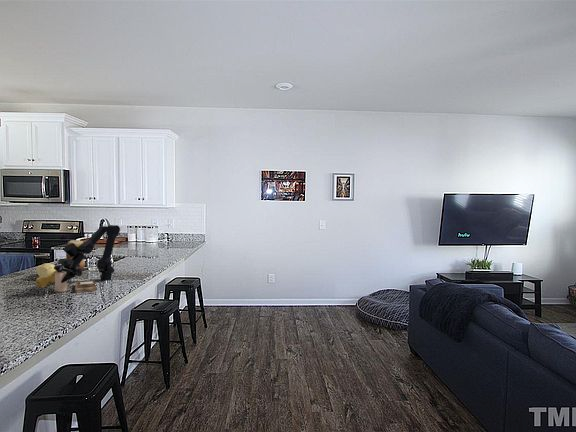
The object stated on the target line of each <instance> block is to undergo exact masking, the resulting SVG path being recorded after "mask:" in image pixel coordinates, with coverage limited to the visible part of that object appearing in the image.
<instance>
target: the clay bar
mask: <svg viewBox="0 0 576 432" xmlns="http://www.w3.org/2000/svg"><path fill="white" fill-rule="evenodd" d="M65 275H66V272H59V273H55V283H54V292H60V293H62V292H66V291H68V280H67V281H65V282H64V283H61V281H62V279H63V278H64V276H65Z"/></svg>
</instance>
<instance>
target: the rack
mask: <svg viewBox="0 0 576 432" xmlns="http://www.w3.org/2000/svg"><path fill="white" fill-rule="evenodd" d="M80 282H81V281H76V282H75V287H74V293H75V294H74V295H75V296H82V295H83V294H84V293H85V295H91V294H94V293H95V292H96V291H97V287H96V280H90V281H89V280H88V281H87V280H86V281H84V282H93V283H92V284H80Z"/></svg>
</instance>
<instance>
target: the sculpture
mask: <svg viewBox="0 0 576 432" xmlns="http://www.w3.org/2000/svg"><path fill="white" fill-rule="evenodd" d="M54 267H55V264H54V263H48V262H47V263H46V262H45V263H43V264H41V265H38V266H36V274H37V275H38V278H39V277H48V276H50V275H51V274H52V273H53V272H54V271H56V270H55V269H54Z"/></svg>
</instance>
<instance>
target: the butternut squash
mask: <svg viewBox="0 0 576 432" xmlns="http://www.w3.org/2000/svg"><path fill="white" fill-rule="evenodd" d="M84 242H85V241H82V240H78V239H73V240H69V241H68V242H67V244H66V246H67V245H69V244H71V243H74V244H75V246H76V247H79V246H80V245H81V244H82V243H84ZM83 254H84V253H83ZM65 255H66V257H65V259H66V260H67V259H71V258H72V257H73V256H72V257H70V256H69V255H68V254H67V253H66V252H65ZM84 255H85V254H84ZM79 265H80V266H79V267H77V268H79V269H80V270H81V271H82V272H83V270H84V269H85V266H86V262H85V260H84V259H83V260H82V261H81V263H80V264H79ZM63 268H65V267H63Z"/></svg>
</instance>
